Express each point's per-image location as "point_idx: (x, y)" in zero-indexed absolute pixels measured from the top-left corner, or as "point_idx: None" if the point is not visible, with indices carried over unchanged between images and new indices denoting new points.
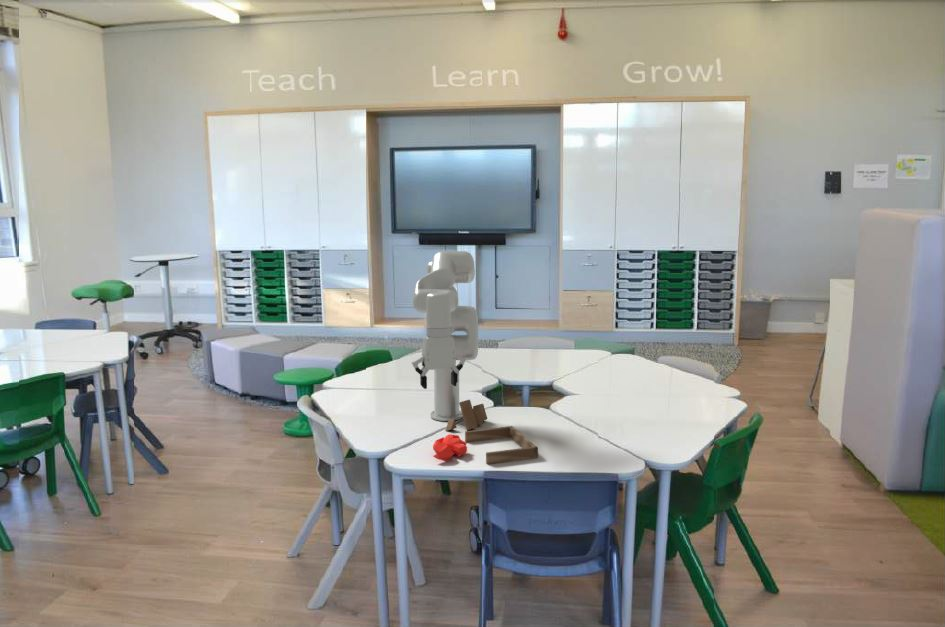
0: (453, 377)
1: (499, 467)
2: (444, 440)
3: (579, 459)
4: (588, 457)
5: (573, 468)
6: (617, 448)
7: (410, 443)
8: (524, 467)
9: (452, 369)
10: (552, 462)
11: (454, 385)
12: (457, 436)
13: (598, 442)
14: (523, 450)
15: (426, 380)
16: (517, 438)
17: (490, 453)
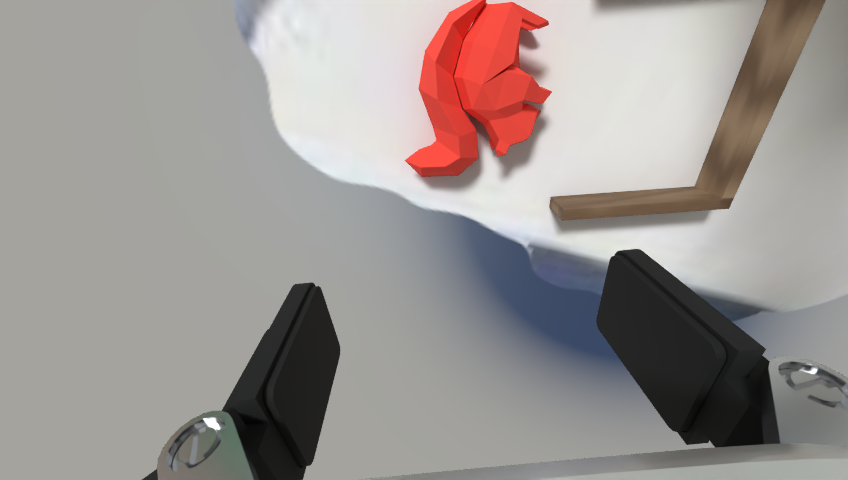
0: (649, 379)
1: (568, 231)
2: (472, 65)
3: (784, 230)
4: (816, 223)
5: (720, 273)
6: None
7: None
8: (624, 244)
9: (773, 420)
10: (709, 232)
11: (601, 326)
12: (541, 24)
13: None
14: (677, 210)
15: (318, 423)
16: (768, 49)
17: (572, 219)
